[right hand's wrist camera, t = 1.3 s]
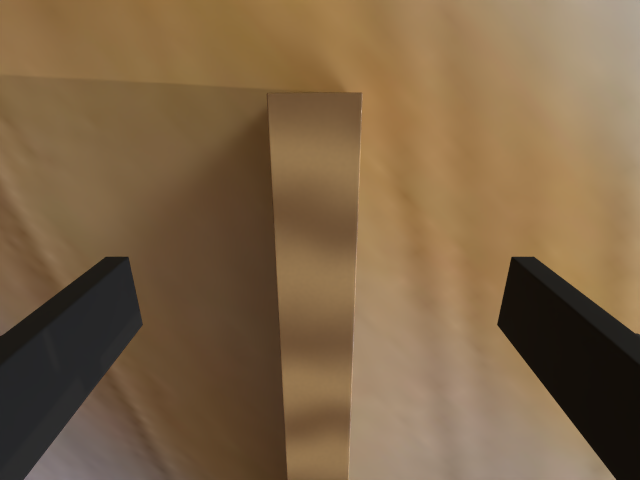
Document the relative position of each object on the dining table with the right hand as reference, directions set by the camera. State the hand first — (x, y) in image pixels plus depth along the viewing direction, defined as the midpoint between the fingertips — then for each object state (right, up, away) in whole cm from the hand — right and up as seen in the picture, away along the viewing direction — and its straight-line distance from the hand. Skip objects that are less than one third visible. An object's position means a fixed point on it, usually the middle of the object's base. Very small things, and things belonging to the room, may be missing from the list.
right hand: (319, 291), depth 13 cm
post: (0, -14, +23) cm, 27 cm away
